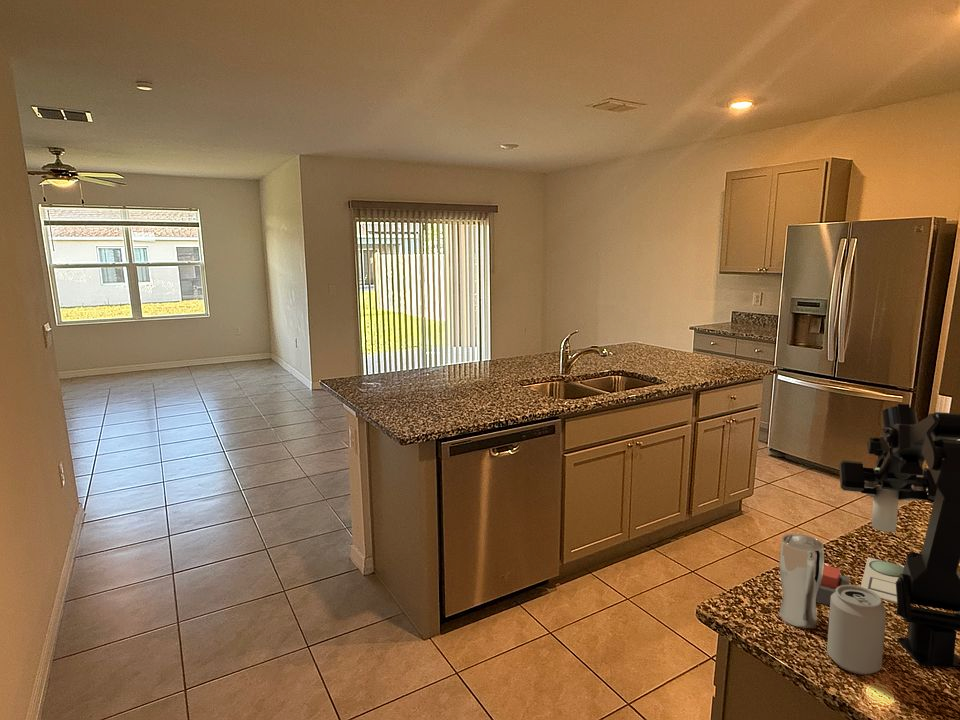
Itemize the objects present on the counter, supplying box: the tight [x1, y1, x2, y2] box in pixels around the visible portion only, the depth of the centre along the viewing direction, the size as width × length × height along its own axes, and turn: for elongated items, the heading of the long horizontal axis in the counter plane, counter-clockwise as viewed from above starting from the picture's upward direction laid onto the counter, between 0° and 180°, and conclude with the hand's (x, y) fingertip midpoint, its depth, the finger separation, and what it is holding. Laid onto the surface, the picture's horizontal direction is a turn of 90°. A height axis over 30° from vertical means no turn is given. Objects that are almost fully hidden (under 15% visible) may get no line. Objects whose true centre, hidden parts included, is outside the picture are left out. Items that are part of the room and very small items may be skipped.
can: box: [826, 584, 887, 675], centre depth 91 cm, size 8×8×12 cm
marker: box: [871, 467, 900, 533], centre depth 122 cm, size 5×5×13 cm
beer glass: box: [778, 533, 825, 629], centre depth 103 cm, size 7×7×15 cm
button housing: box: [816, 574, 851, 607], centre depth 111 cm, size 8×8×3 cm
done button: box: [821, 564, 841, 589], centre depth 111 cm, size 4×4×3 cm
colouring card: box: [860, 556, 905, 604], centre depth 115 cm, size 17×8×1 cm, turn 141°
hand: (884, 496), depth 124 cm, fingers closed on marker, 4 cm apart
